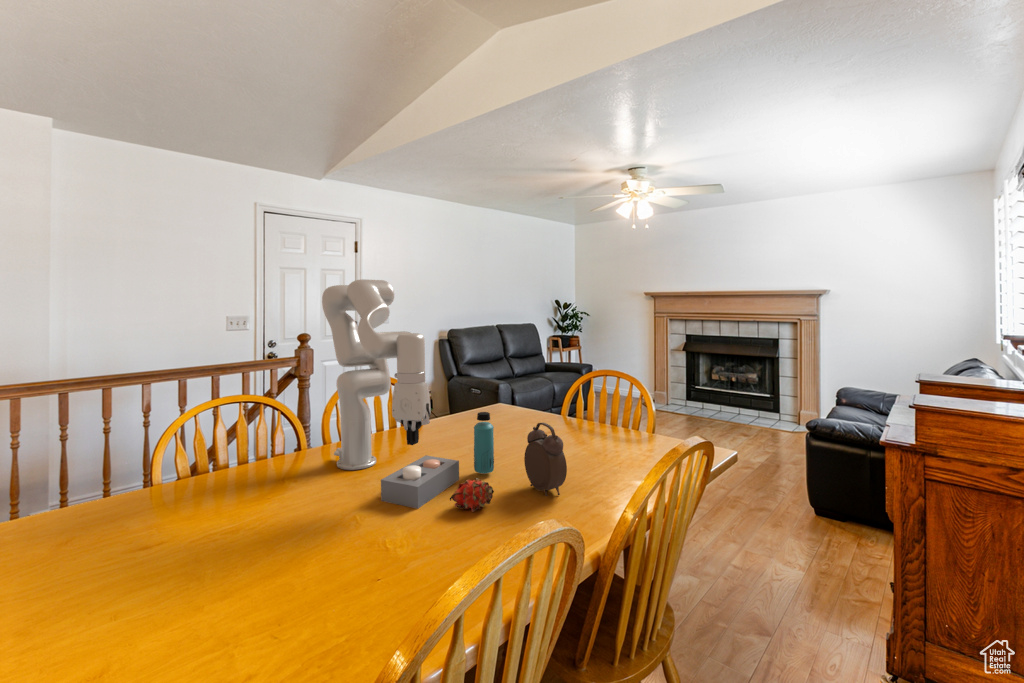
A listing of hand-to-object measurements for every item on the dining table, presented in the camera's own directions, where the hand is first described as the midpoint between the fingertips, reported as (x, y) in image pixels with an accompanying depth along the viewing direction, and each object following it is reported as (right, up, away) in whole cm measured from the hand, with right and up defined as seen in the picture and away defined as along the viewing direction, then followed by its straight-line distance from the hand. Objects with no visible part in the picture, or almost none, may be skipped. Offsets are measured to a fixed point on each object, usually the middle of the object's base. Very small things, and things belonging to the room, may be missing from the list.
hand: (412, 443), depth 130 cm
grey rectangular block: (+1, -15, +6) cm, 16 cm away
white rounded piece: (0, -11, +1) cm, 11 cm away
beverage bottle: (+19, -14, +19) cm, 30 cm away
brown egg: (+3, -12, +11) cm, 16 cm away
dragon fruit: (+17, -16, -6) cm, 24 cm away
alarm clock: (+37, -15, +6) cm, 41 cm away
